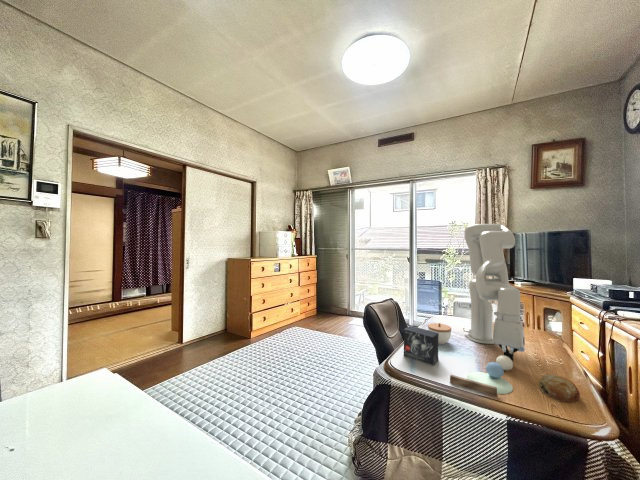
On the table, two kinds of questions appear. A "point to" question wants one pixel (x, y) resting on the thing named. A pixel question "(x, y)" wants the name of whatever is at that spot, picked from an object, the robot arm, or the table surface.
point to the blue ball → (494, 370)
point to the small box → (421, 344)
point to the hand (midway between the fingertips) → (508, 361)
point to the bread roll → (559, 388)
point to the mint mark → (491, 382)
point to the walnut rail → (473, 385)
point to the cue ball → (504, 362)
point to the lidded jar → (441, 332)
